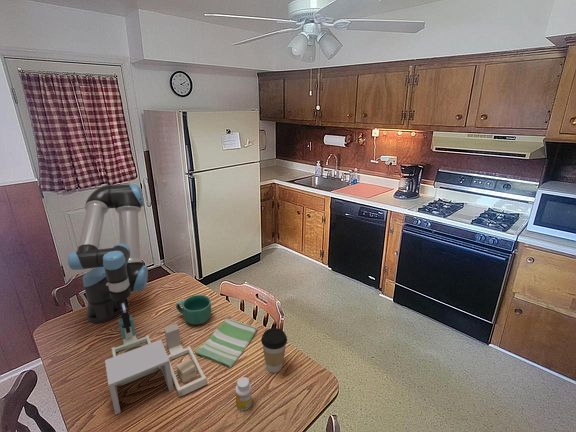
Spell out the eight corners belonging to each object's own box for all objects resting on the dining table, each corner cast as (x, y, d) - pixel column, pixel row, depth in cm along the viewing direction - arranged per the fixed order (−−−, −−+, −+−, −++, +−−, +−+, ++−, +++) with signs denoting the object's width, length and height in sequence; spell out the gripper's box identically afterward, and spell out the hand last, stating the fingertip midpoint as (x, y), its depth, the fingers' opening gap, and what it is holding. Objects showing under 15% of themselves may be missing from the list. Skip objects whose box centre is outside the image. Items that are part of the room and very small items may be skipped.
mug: (216, 313, 152) (215, 297, 149) (203, 330, 141) (201, 313, 138) (186, 307, 156) (184, 291, 153) (171, 323, 145) (169, 306, 142)
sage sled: (110, 339, 134) (106, 322, 131) (145, 328, 141) (142, 311, 138) (118, 386, 112) (114, 367, 109) (159, 369, 119) (156, 351, 116)
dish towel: (193, 355, 128) (193, 350, 127) (225, 321, 148) (225, 316, 147) (230, 369, 121) (230, 364, 120) (259, 331, 141) (259, 327, 140)
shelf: (111, 388, 112) (104, 360, 107) (165, 366, 121) (161, 339, 117) (115, 414, 102) (108, 385, 98) (173, 388, 112) (169, 360, 108)
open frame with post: (160, 347, 130) (157, 329, 127) (184, 338, 136) (182, 321, 132) (179, 397, 108) (176, 377, 105) (207, 384, 114) (205, 365, 111)
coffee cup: (290, 360, 125) (290, 330, 120) (281, 379, 116) (282, 348, 111) (267, 354, 128) (267, 324, 123) (257, 372, 119) (256, 341, 114)
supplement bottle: (236, 396, 109) (235, 375, 106) (252, 395, 110) (251, 374, 107) (235, 411, 104) (234, 389, 101) (251, 410, 105) (250, 388, 102)
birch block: (177, 375, 118) (176, 365, 116) (189, 368, 121) (188, 358, 119) (183, 383, 114) (182, 373, 112) (196, 376, 117) (195, 366, 116)
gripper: (106, 281, 132) (116, 326, 140) (111, 301, 119) (121, 349, 127) (126, 276, 136) (134, 320, 144) (132, 295, 123) (141, 342, 131)
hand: (128, 334), depth 136 cm, fingers closed on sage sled, 4 cm apart
